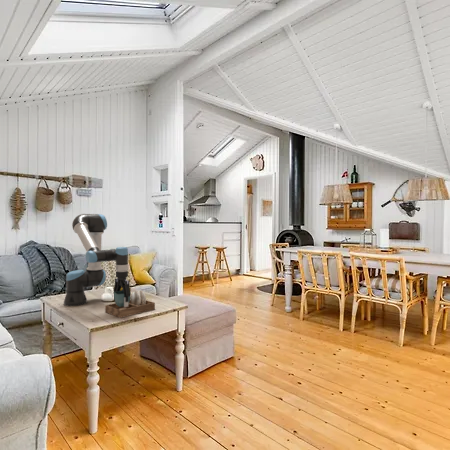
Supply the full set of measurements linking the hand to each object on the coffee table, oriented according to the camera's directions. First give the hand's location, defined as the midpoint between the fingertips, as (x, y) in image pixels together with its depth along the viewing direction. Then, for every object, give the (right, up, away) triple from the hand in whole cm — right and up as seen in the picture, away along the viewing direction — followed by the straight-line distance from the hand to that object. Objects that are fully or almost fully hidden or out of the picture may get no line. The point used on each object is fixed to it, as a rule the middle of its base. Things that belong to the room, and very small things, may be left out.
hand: (122, 305), depth 212 cm
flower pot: (0, 0, 0) cm, 0 cm away
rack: (+4, -5, +5) cm, 8 cm away
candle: (-10, -4, +32) cm, 34 cm away
